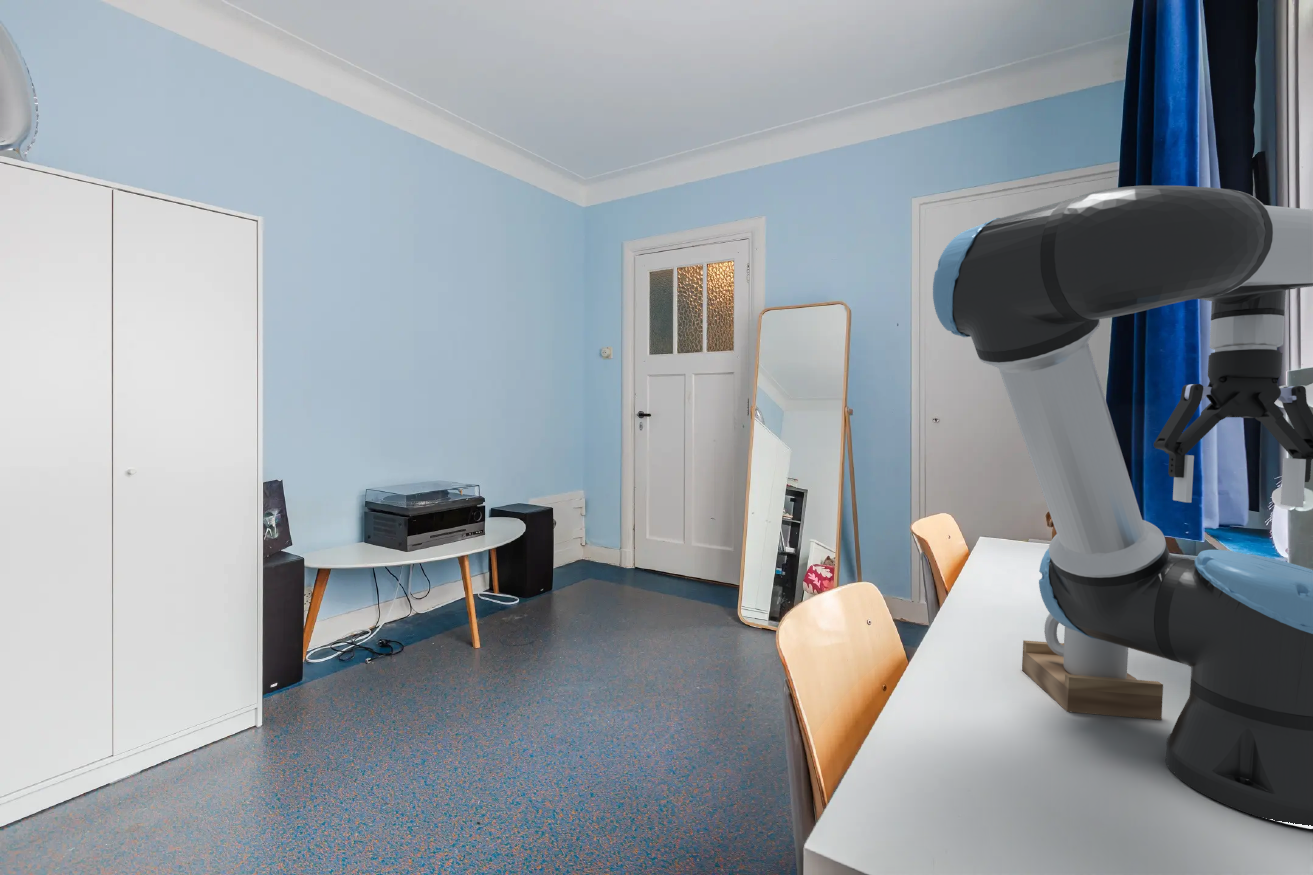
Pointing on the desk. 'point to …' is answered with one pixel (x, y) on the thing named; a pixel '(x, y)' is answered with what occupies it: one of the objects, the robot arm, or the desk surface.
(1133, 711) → the wooden tray
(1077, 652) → the cup
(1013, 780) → the desk surface
